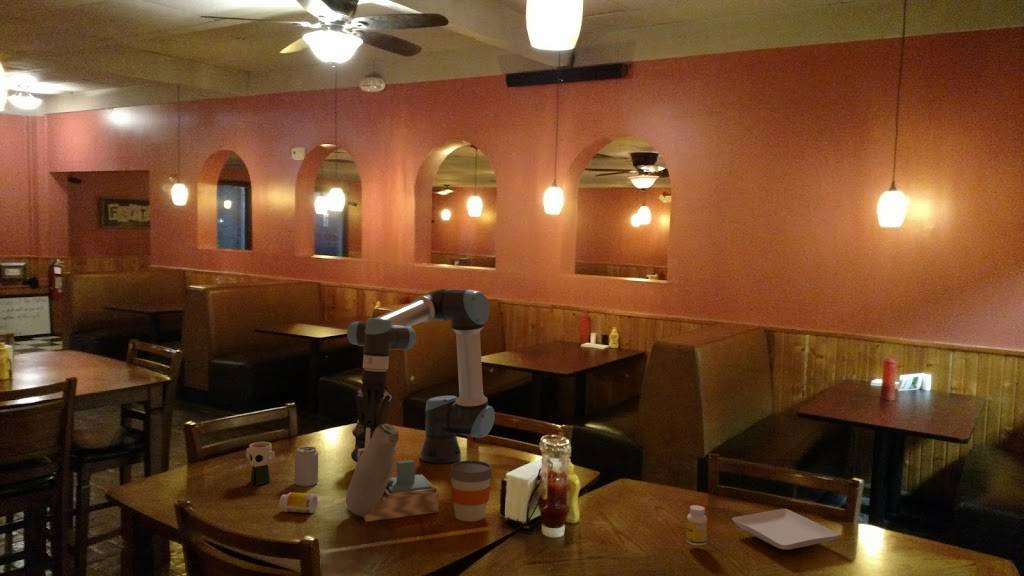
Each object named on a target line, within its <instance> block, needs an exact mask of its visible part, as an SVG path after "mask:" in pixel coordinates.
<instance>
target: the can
mask: <svg viewBox="0 0 1024 576" xmlns="http://www.w3.org/2000/svg"><path fill="white" fill-rule="evenodd" d="M318 482H319V452H318V451H317V448H316V447H314V446H301V447H299V448H297V449H296V452H295V454H294V484H295V485H297V486H298V487H300V488H301V487H302V488H306V487H307V488H308V487H313V486H315V485H316V484H317V483H318Z"/></svg>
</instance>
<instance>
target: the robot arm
mask: <svg viewBox="0 0 1024 576" xmlns="http://www.w3.org/2000/svg"><path fill="white" fill-rule="evenodd" d="M490 310H491V307H490V302H489V300H488V297H487V296H486V295H485V294H484V293H483V292H482V291H480V290H473V289H463V288H460V289H458V288H440V289H436V290H432V291H430V292H426V293H424V294H422V295H419V296H417V297H416V298H414V300H413V301H412V302H409V303H408V304H407V303H406V304H405V305H403V306H400V307H397V308H395V309H393V310H391V311H388V312H386V313H384V314H381V315H379V316H377V317H369V318H367V320H366V321H354V322H353V321H352V322H351V323H350V324H349V326H348V327H347V330H346V337H347V340H348V342H349V343H350V344H352V345H355V346H356V345H357V346H359V347H364V348H363V358H362V359H363V360H362V368H363V370H362V372H361V382H362V384H361V386H360V389H358V390H356V391H353V396H354V399H355V404H356V411H357V418H358V420H357V421H359V424H362V425H363V426H364V438H365V448H366V447H367V446H368V444H369V443H370V441H371V438H372V436H373V432H374V430H375V429H376V428H377V427H378V426H379V425H381V424H386V423H385V422H386V419H387V415H388V412H389V408H390V404H391V402H392V401H393V399H394V395H393V394H390V393H389V392H388V390H387V389H388V388H387V383H388V375H389V374H388V373H389V372H388V371H387V370H388V369H389V362H390V361H389V359H390V350H392V351H393V350H396V351H397V350H398V351H405V350H410V349H412V348H413V347H414V346H415V345H416V342H417V334H416V331H415V329H414V328H413V326H416V325H417V324H420V323H428V322H431V321H443V322H445V321H446V322H450V323H451V325H450V326H451V327H450V328H451V331H454V332H455V336H456V342H455V343H456V357H457V359H456V360H457V374H458V375H457V376H458V390H459V395H458V397H457V396H456V395H440V396H439V395H438V396H435V397H434V396H433V397H431V398H428V400H427V401H426V405H425V410H424V411H425V436H424V437H425V438H424V440H423V442H422V443H423V444H422V446H421V449H420V455H419V456H420V458H421V459H420V460H421V461H423V462H425V463H430V464H437V465H438V464H439V465H440V464H443V465H444V464H450V463H451V464H453V463H456V462H459V461H461V459H462V457H461V455H462V452H461V448H460V445H459V442H458V438H457V434H458V435H462V436H467V437H471V438H484V437H486V436H487V435H488V434H489V433H490V432H491V430H492V429H493V426H494V423H495V418H496V413H495V409H494V407H493V406H491V405H489V403H488V397H486V396H485V395H484V387H483V385H484V384H483V365H482V347H481V345H482V343H481V331H482V330H483V328H485V323H487V322H488V320H489V315H490V312H491V311H490Z"/></svg>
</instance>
